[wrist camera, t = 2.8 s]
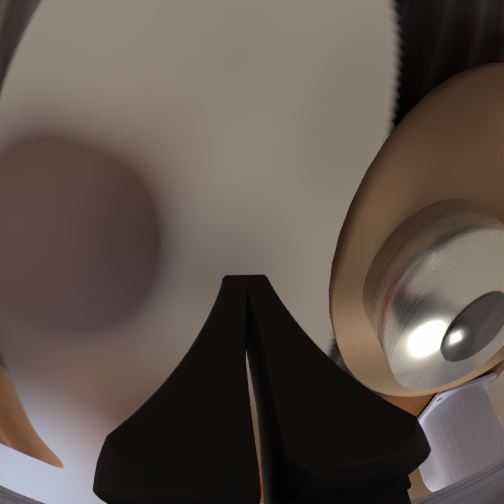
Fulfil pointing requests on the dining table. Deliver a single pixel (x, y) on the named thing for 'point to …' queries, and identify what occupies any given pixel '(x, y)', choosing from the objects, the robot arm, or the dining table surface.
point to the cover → (438, 293)
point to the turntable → (418, 203)
